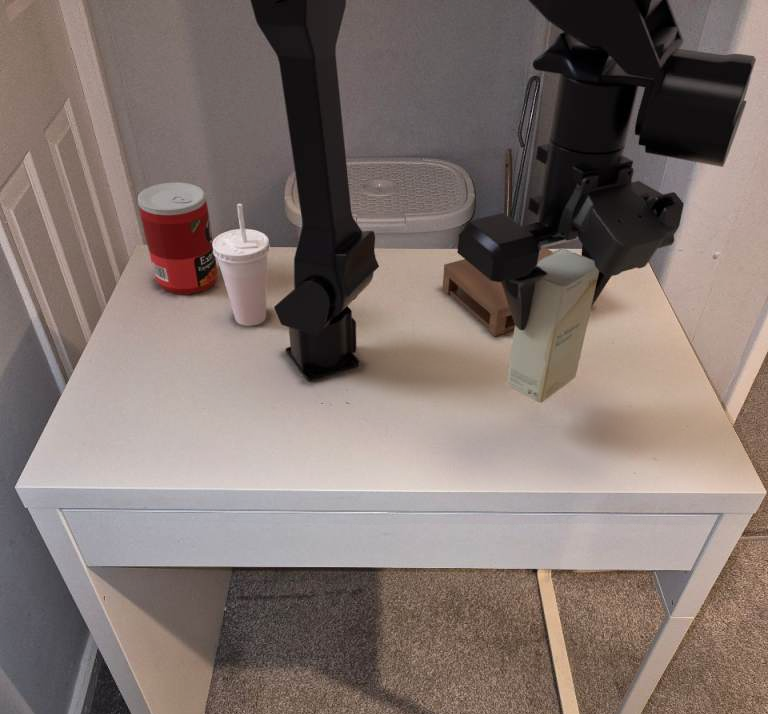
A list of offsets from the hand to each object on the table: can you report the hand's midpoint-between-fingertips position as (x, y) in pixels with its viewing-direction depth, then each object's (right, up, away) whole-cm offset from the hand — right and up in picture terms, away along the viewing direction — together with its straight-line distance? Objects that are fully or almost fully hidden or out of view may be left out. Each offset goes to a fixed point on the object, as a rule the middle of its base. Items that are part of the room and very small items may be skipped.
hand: (552, 318), depth 69 cm
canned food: (-41, +12, +29) cm, 51 cm away
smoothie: (-31, +6, +23) cm, 39 cm away
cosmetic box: (0, -5, +5) cm, 7 cm away
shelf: (+1, +9, +26) cm, 28 cm away
